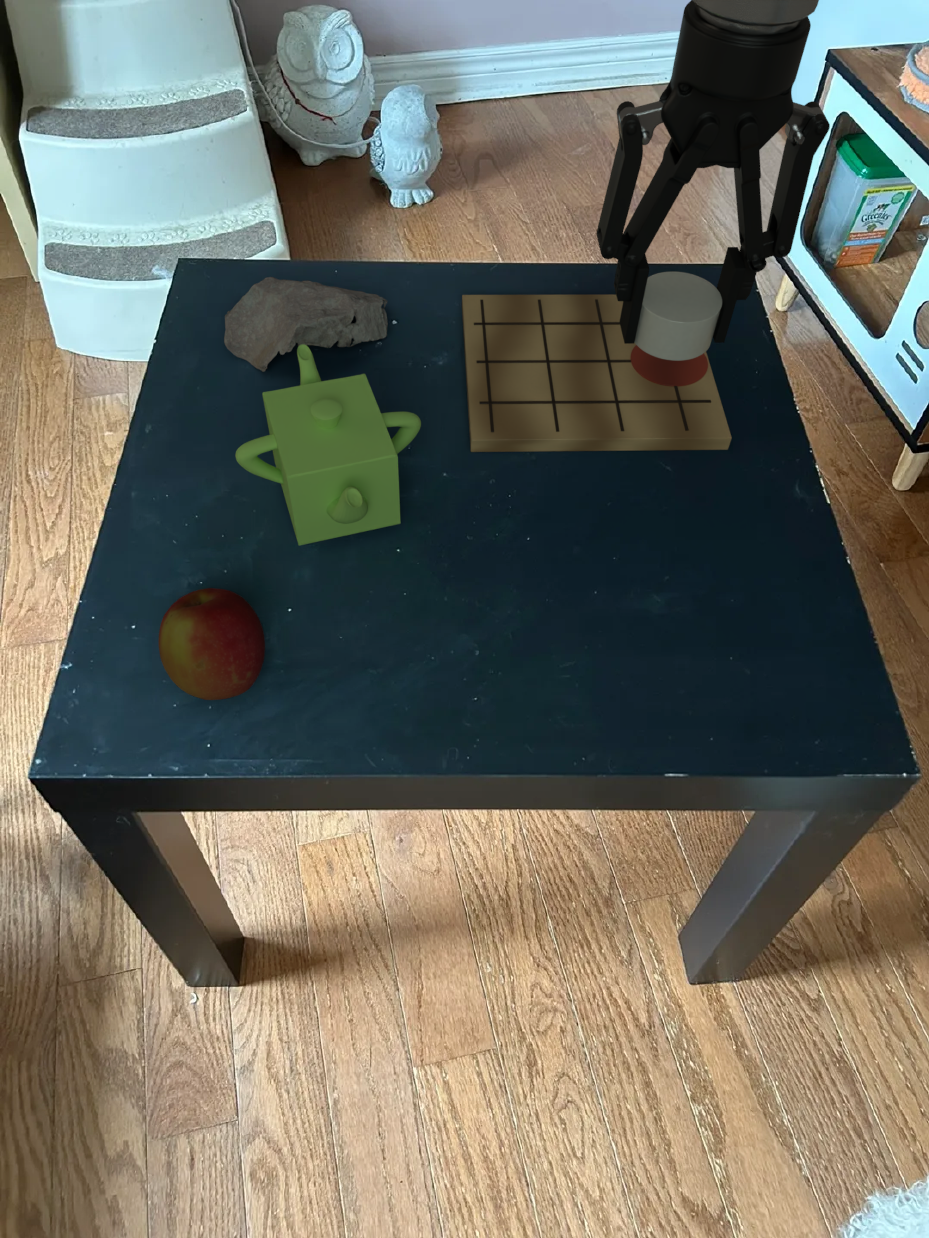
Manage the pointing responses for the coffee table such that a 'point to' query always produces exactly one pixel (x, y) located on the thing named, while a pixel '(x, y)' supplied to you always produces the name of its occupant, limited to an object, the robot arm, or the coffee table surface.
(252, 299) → the stone
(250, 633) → the apple
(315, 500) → the teapot
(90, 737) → the coffee table surface
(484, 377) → the board
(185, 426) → the coffee table surface
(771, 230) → the robot arm
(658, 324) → the gray cylinder
